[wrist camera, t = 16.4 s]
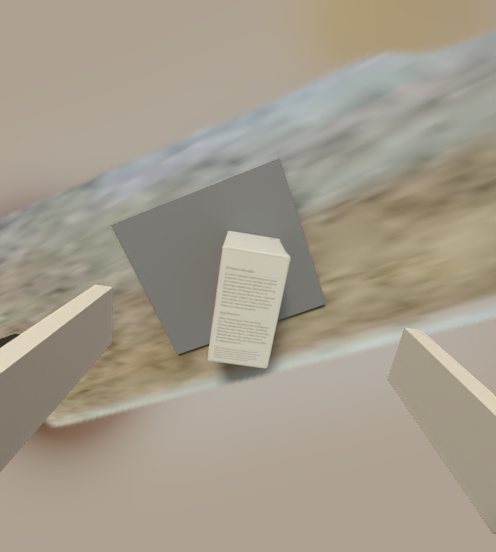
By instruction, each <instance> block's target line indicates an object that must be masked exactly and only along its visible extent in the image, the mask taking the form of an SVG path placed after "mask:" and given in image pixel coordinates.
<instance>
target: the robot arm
mask: <svg viewBox="0 0 496 552" xmlns="http://www.w3.org/2000/svg"><path fill="white" fill-rule="evenodd" d="M112 315H113V287H108V286H100V285H94V286H93V287H91V288H90V289H88V290H87V291H85V292H84V293H82V294H81V295H79V296H78V297H76V298H75V299H73V300H72V301H70V302H69V303H67V304H66V305H64V306H63V307H61V308H60V309H58V310H57V311H55V312H54V313H52V314H51V315H49V316H47V317H46V318H44V319H43V320H41V321H40V322H38V323H37V324H35V325H34V326H32V327H31V328H29V329H28V330H26V331H25V332H23V333H22V334H13V335H10V336H8V337H5V338H2V339H0V472H1V471H2V470H3V468H4V467H5V466H6V465H7V464H8V463H9V461H10V460H11V459H12V458H13V457H14V456H15V454H16V453H17V452H18V451H19V450H20V449H21V448H22V446H23V445H24V444H25V443H26V442H27V441H28V439H29V438H30V437H31V436H32V435H33V434H34V432H35V431H36V430H37V429H38V428H39V427H40V426H41V424H42V423H43V422H44V421H45V420H46V419H47V417H48V416H49V415H50V414H51V413H52V412H53V411H54V409H55V408H56V407H57V406H58V405H59V404H60V402H61V401H62V400H63V399H64V398H65V397H66V395H67V394H68V393H69V392H70V391H71V390H72V388H73V387H74V386H75V385H76V384H77V383H78V382H79V380H80V379H81V378H82V377H83V376H84V375H85V373H86V372H87V371H88V370H89V369H90V368H91V366H92V365H93V364H94V363H95V362H96V361H97V360H98V358H99V357H100V356H101V355H102V354H103V353H104V351H105V350H106V349H107V348H108V347H109V346H110V344H111V343H112ZM388 381H389V382H390V384H391V385H392V387H393V388H394V390H395V391H396V393H397V394H398V396H399V397H400V399H401V400H402V401H403V403H404V404H405V406H406V407H407V409H408V410H409V412H410V413H411V415H412V416H413V418H414V419H415V420H416V422H417V423H418V425H419V426H420V428H421V429H422V431H423V432H424V433H425V435H426V437H427V438H428V440H429V441H430V443H431V444H432V445H433V447H434V448H435V450H436V451H437V453H438V454H439V456H440V457H441V459H442V460H443V462H444V463H445V464H446V466H447V467H448V469H449V470H450V472H451V473H452V475H453V476H454V478H455V479H456V481H457V482H458V483H459V485H460V486H461V488H462V489H463V491H464V492H465V494H466V495H467V497H468V498H469V500H470V501H471V503H472V504H473V506H474V507H475V508H476V510H477V511H478V513H479V514H480V516H481V517H482V519H483V520H484V522H485V523H486V525H487V526H488V528H489V529H490V531H491V532H492V533H493V534H496V396H495V395H494V394H493V393H491V392H490V391H489V390H488V389H487V388H486V387H485V386H484V385H482V384H481V383H480V382H479V381H478V380H477V379H475V377H473V376H472V375H471V374H470V373H469V372H468V371H467V370H465V369H464V368H463V367H462V366H461V365H460V364H459V363H458V362H456V361H455V360H454V359H453V358H452V357H451V356H449V354H447V353H446V352H445V351H444V350H443V349H441V348H440V347H439V346H438V345H437V344H436V343H435V342H434V341H433V340H432V339H430V338H429V337H428V336H427V335H426V334H425V333H424V332H423V331H421V330H416V329H409V328H404V331H403V334H402V337H401V340H400V343H399V346H398V349H397V352H396V355H395V358H394V361H393V364H392V367H391V370H390V373H389V376H388Z"/></svg>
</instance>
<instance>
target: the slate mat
mask: <svg viewBox="0 0 496 552" xmlns="http://www.w3.org/2000/svg"><path fill="white" fill-rule="evenodd" d="M111 226H112V228H113V230H114V232H115V234H116V236H117V238H118V240H119V242H120V244H121V246H122V248H123V249H124V251H125V253H126V255H127V257H128V259H129V261H130V263H131V265H132V267H133V269H134V271H135V273H136V275H137V277H138V279H139V281H140V283H141V285H142V286H143V288H144V290H145V292H146V294H147V296H148V298H149V300H150V302H151V304H152V306H153V308H154V310H155V312H156V314H157V316H158V318H159V320H160V322H161V323H162V325H163V327H164V329H165V331H166V333H167V335H168V337H169V339H170V341H171V343H172V345H173V347H174V349H175V351H176V353H177V355H178V354H181V353H184V352H186V351H189V350H192V349H195V348H198V347H201V346H204V345H207V344H209V342H210V335H211V326H212V318H213V311H214V304H215V296H216V287H217V279H218V272H219V264H220V257H221V249H222V246H223V243H224V240H225V237H226V234H227V231H234V232H240V233H246V234H252V235H259V236H265V237H271V238H276V239H280V241H281V244H282V245H283V247H284V249H285V251H286V252H287V254H289V256H290V257H291V260H290V264H289V269H288V274H287V279H286V284H285V288H284V293H283V298H282V302H281V307H280V312H279V316H278V320H280V319H283V318H286V317H289V316H292V315H295V314H298V313H301V312H304V311H307V310H310V309H313V308H316V307H319V306H321V305H324V304H326V302H325V299H324V295H323V292H322V289H321V286H320V283H319V280H318V277H317V274H316V271H315V268H314V264H313V261H312V258H311V255H310V252H309V249H308V246H307V243H306V240H305V236H304V233H303V230H302V227H301V224H300V221H299V218H298V215H297V212H296V209H295V205H294V202H293V199H292V196H291V193H290V190H289V187H288V184H287V181H286V178H285V174H284V171H283V168H282V165H281V162H280V159H277V160H274V161H272V162H269V163H267V164H264V165H262V166H259V167H257V168H254V169H252V170H249V171H247V172H244V173H242V174H239V175H237V176H234V177H232V178H229V179H227V180H224V181H222V182H219V183H217V184H214V185H212V186H209V187H207V188H204V189H202V190H199V191H197V192H194V193H192V194H189V195H187V196H184V197H182V198H179V199H177V200H174V201H172V202H169V203H167V204H164V205H162V206H159V207H157V208H154V209H152V210H149V211H146V212H144V213H141V214H139V215H136V216H134V217H131V218H129V219H126V220H124V221H121V222H119V223H116V224H114V225H111Z"/></svg>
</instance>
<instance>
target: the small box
mask: <svg viewBox="0 0 496 552" xmlns="http://www.w3.org/2000/svg"><path fill="white" fill-rule="evenodd" d="M290 260H291V257H290V256H289V254H287V252H286V251H285V249H284V247H283V245H282V244H281V241H280V239H276V238H271V237H265V236H259V235H252V234H246V233H240V232H234V231H227V234H226V237H225V240H224V243H223V246H222V249H221V257H220V264H219V272H218V279H217V287H216V296H215V304H214V311H213V318H212V326H211V335H210V342H209V349H208V355H207V361H210V362H219V363H227V364H235V365H242V366H249V367H256V368H268V364H269V359H270V355H271V350H272V345H273V340H274V335H275V330H276V326H277V321H278V316H279V312H280V307H281V302H282V298H283V293H284V288H285V284H286V279H287V274H288V269H289V264H290Z"/></svg>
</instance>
